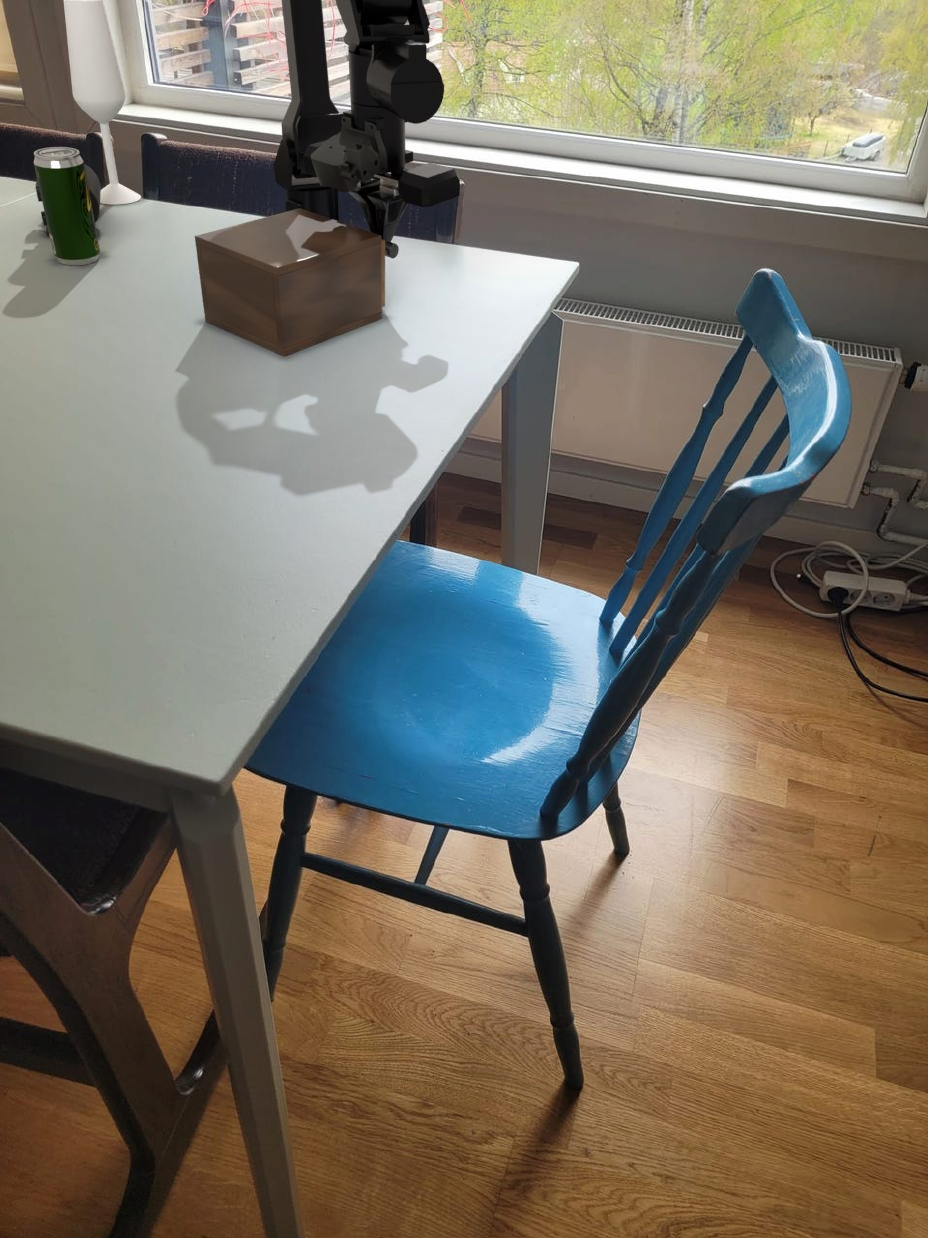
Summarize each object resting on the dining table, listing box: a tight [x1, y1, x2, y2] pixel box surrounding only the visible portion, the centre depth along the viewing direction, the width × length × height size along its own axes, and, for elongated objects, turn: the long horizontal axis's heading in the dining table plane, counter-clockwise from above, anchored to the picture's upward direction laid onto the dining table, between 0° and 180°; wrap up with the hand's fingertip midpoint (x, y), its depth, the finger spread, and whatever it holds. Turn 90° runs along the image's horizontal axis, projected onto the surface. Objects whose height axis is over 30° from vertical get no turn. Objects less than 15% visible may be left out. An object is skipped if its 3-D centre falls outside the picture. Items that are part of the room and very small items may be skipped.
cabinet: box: [194, 208, 383, 357], centre depth 103 cm, size 15×13×9 cm
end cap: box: [35, 163, 102, 238], centre depth 124 cm, size 10×7×7 cm
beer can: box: [33, 146, 101, 266], centre depth 113 cm, size 5×5×12 cm
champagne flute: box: [63, 0, 142, 206], centre depth 129 cm, size 7×7×24 cm
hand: (382, 249), depth 112 cm, fingers closed, pressing on drawer
